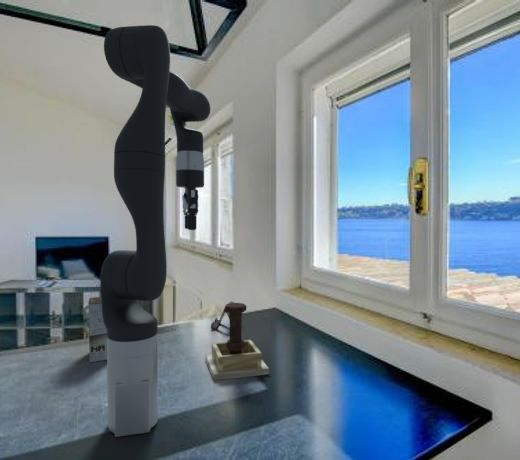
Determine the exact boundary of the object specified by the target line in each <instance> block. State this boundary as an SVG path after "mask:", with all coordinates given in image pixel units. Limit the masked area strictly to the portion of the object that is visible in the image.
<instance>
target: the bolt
mask: <svg viewBox="0 0 520 460" xmlns="http://www.w3.org/2000/svg"><path fill="white" fill-rule="evenodd" d="M228 303H229V302H228ZM228 303H226V304H225V306H224V308H225V311H226V312H229V317H230V320H229V339H228V340H227V341H226V342H227V343H226V347H227V348H228V349H229V350H230V355H233V354H242V353H241V351H242V349H243V348H244V346H245V341H244V339H243V338H242V334H243V333H242V332H243V331H242V330H243V329H242V327H243V326H242V323H243V322H242V321H243V313H245V312H246V311H247V305H246V304H245V303H242V302H233V303H229V304H228ZM229 317H228V318H229Z"/></svg>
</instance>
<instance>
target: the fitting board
mask: <svg viewBox="0 0 520 460" xmlns="http://www.w3.org/2000/svg"><path fill="white" fill-rule="evenodd" d="M243 340H244V339H243ZM244 341H245V346H244V348H243V349H242V351H241V353H242V354H233V355H230V350H229V349H228V348H227V347H226V343H227V341H223V342H221V341H220V342H211V353H207V354H206V353H205V361H206V364H207V366H208V369H209V371H210V372H209V373H210V375H211V377H212V381H221V380H230V379H237V378H238V379H239V378H247V377H256V376H265V375H270V368H269V366H268V365H267V364H266V363H265V361H264V360H263V358H262V356H263V355H262V351H261V350H260V349H259V348H258V347H257V346H256V345H255V343H254V342H253V341H252V340H251V339H246V340H244Z"/></svg>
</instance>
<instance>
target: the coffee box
mask: <svg viewBox="0 0 520 460" xmlns="http://www.w3.org/2000/svg"><path fill="white" fill-rule="evenodd" d="M88 344H89V345H88V347H89V348H88V350H89V363H95V362H100V361H107V329H106V327H105V325H104V322H103V317H102V301H101V296H97V297H96V296H95V297H89V300H88Z"/></svg>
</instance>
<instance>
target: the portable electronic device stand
mask: <svg viewBox="0 0 520 460" xmlns="http://www.w3.org/2000/svg"><path fill="white" fill-rule="evenodd" d="M229 303H234V301H229V302H228V303H227V304H229ZM225 314H226V315H227V317H228V321H230V317H229V312H226V311H225V307H224V308H223V311H222V313H221V315H220V318H219V319H218V317H215V319H214V321H213V322H212V323H211V325H210V329H211V330H212V331H216V330H217V329H218V327H219V326H220V324H221V323H222V321H223V318H224V316H225Z"/></svg>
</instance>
